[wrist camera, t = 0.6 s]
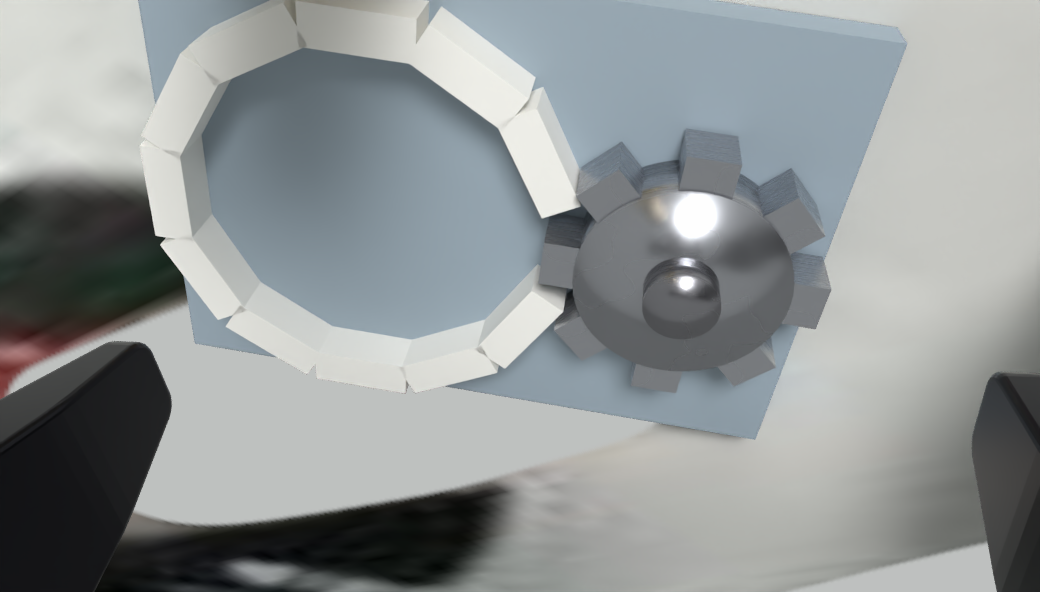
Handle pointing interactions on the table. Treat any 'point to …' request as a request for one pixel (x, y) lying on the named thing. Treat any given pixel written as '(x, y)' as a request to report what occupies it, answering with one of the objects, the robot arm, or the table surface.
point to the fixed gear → (685, 263)
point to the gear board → (470, 172)
